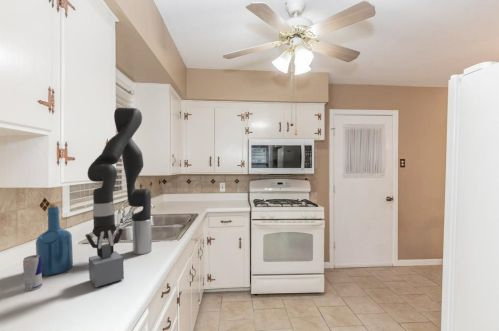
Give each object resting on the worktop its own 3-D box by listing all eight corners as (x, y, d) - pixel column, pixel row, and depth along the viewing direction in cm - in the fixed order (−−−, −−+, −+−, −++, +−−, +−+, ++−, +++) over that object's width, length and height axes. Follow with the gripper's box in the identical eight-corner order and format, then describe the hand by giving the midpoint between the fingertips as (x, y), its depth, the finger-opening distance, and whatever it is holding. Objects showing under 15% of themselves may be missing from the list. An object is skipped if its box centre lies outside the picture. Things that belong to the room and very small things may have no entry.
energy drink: (45, 284, 106) (44, 254, 106) (35, 291, 101) (33, 259, 100) (31, 284, 106) (30, 254, 106) (20, 291, 101) (19, 260, 100)
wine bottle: (44, 266, 124) (41, 202, 123) (77, 262, 128) (74, 200, 127) (30, 279, 111) (27, 207, 110) (67, 274, 115) (64, 205, 114)
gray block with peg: (89, 278, 109) (88, 245, 108) (116, 271, 116) (115, 239, 115) (95, 287, 101) (94, 251, 101) (123, 278, 108) (122, 245, 108)
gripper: (119, 209, 115) (121, 249, 116) (81, 215, 106) (83, 257, 106) (125, 212, 110) (126, 253, 110) (85, 218, 100) (87, 263, 101)
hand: (105, 255), depth 108 cm, fingers closed on gray block with peg, 3 cm apart
